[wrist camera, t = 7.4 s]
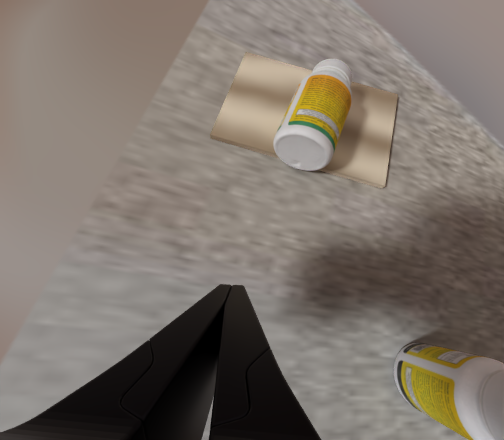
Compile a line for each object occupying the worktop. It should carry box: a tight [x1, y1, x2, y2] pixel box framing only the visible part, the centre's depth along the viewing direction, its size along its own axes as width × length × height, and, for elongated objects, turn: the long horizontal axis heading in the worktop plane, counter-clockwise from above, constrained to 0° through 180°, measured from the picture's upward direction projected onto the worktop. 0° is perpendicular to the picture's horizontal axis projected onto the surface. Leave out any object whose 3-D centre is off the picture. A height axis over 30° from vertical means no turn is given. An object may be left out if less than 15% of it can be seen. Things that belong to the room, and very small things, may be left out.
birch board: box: [210, 52, 398, 189], centre depth 27 cm, size 12×18×1 cm, turn 73°
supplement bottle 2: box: [394, 343, 504, 440], centre depth 16 cm, size 5×5×8 cm
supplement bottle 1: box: [273, 59, 352, 171], centre depth 23 cm, size 5×5×10 cm
